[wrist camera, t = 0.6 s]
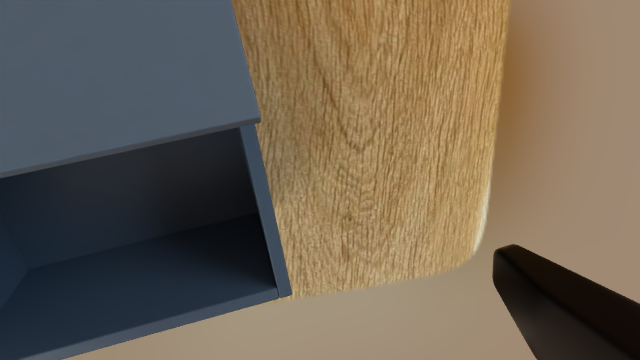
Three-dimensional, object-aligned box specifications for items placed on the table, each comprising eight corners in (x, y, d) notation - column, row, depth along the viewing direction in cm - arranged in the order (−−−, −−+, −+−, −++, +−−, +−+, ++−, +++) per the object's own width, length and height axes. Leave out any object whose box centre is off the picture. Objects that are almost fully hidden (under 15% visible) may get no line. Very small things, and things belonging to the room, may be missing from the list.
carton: (-114, -14, 17) (-335, -36, 10) (205, -60, 19) (204, -106, 12) (26, 274, 22) (-59, 394, 15) (267, 214, 24) (292, 295, 17)
